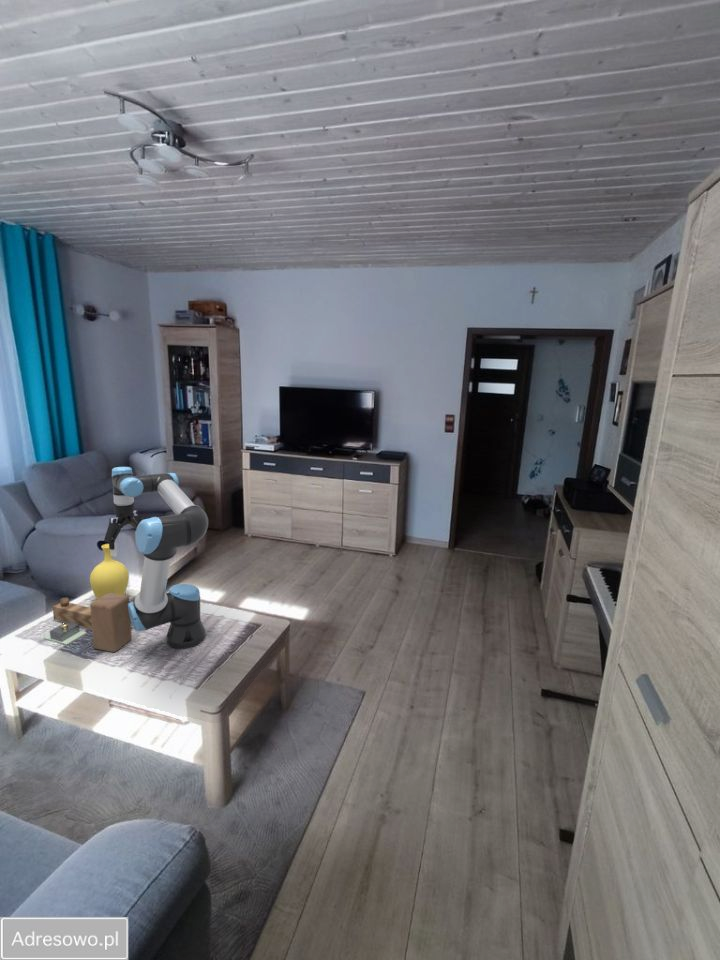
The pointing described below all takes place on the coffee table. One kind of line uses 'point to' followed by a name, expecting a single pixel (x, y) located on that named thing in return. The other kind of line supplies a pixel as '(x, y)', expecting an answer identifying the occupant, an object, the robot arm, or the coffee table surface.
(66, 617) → the body
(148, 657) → the coffee table surface
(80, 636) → the felt mat
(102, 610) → the wooden block
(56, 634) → the lever cap
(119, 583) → the vase
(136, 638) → the coffee table surface
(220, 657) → the coffee table surface
